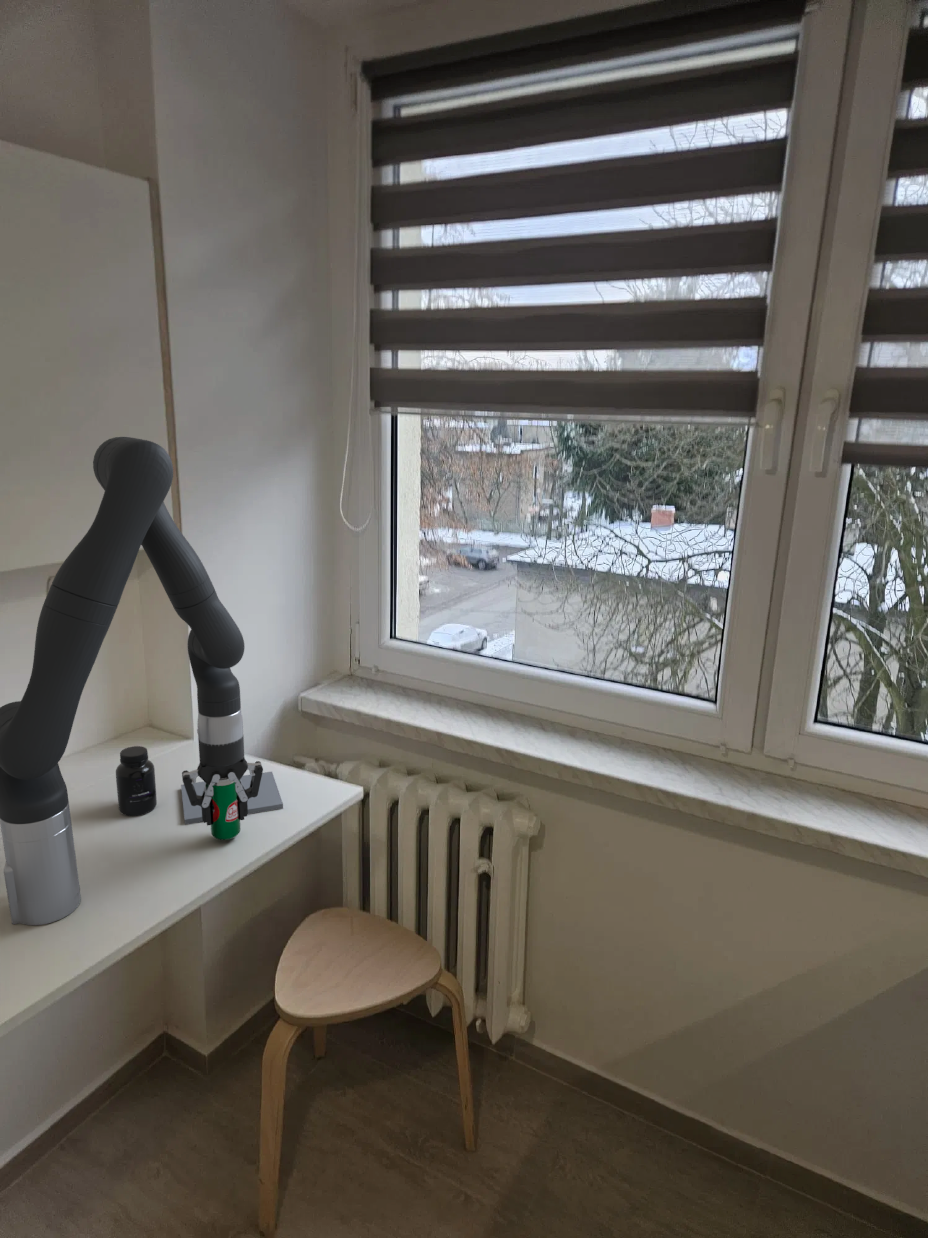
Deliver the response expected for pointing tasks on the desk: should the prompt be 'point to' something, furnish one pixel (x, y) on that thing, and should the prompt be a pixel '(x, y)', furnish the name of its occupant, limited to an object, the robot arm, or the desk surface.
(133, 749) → the supplement bottle
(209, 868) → the desk surface
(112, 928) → the desk surface
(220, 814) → the soda can
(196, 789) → the slate gray mat
